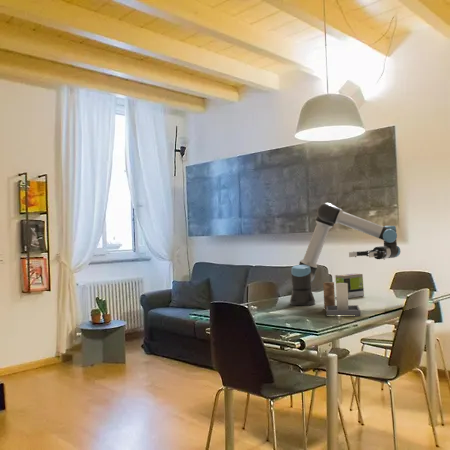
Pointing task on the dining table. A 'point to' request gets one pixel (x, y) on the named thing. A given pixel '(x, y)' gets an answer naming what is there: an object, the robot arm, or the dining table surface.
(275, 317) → the dining table surface
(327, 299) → the walnut pillar
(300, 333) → the dining table surface
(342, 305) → the cream pillar
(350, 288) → the tea box
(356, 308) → the tray
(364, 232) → the robot arm
